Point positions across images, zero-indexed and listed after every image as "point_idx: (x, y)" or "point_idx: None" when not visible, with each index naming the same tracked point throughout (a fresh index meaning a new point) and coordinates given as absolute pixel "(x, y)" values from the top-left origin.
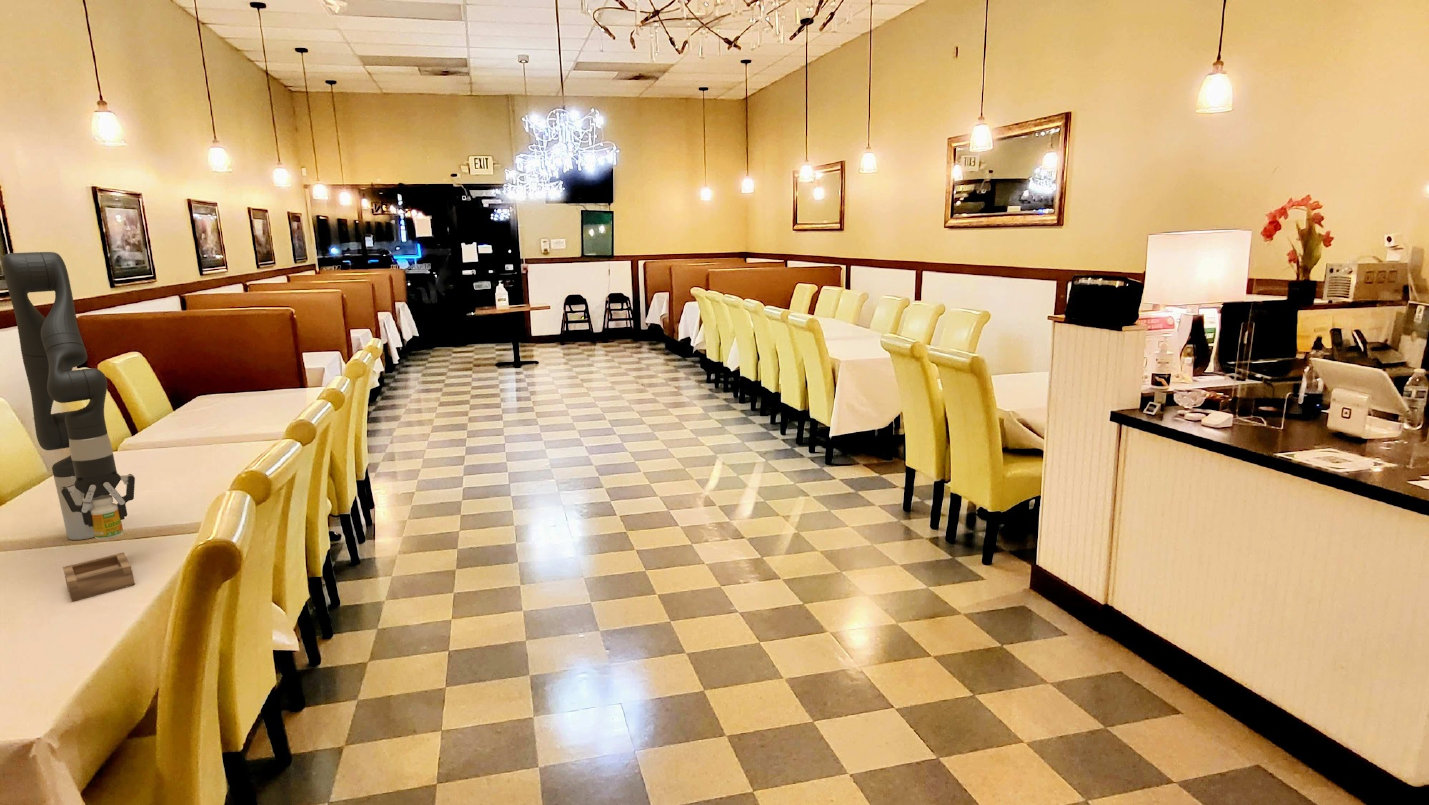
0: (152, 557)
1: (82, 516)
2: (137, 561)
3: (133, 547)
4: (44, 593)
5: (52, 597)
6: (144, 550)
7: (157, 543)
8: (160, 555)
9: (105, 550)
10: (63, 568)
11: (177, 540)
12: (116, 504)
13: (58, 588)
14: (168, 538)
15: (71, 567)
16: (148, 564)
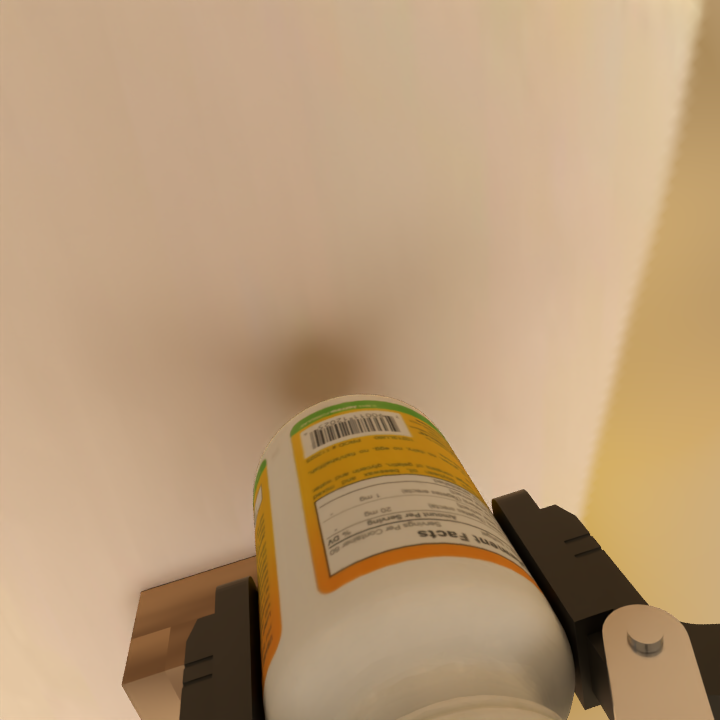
0: (505, 375)
1: (183, 713)
2: (434, 400)
3: (389, 85)
4: (56, 640)
5: (119, 696)
6: (461, 209)
7: (533, 96)
8: (543, 364)
9: (196, 21)
10: (133, 702)
11: (646, 114)
12: (572, 679)
13: (106, 605)
14: (602, 15)
15: (178, 704)
16: (488, 474)
